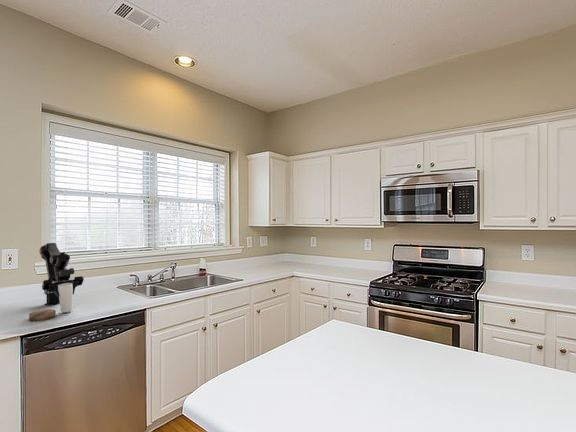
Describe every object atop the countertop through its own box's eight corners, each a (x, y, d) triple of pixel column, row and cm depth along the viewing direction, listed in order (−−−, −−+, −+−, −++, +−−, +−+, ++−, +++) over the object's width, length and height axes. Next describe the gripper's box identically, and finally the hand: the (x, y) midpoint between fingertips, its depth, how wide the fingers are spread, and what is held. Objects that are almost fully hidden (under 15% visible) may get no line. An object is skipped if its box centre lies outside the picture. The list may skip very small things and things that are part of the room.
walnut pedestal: (23, 321, 163) (23, 315, 163) (37, 315, 173) (37, 309, 174) (47, 321, 164) (47, 315, 164) (60, 314, 175) (60, 309, 175)
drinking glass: (65, 309, 183) (63, 282, 182) (77, 309, 183) (75, 282, 182) (56, 313, 176) (54, 286, 176) (68, 313, 176) (66, 285, 175)
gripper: (43, 265, 175) (47, 289, 167) (83, 262, 188) (88, 284, 181) (40, 277, 180) (44, 301, 173) (78, 273, 194) (84, 295, 186)
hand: (66, 295), depth 178 cm, fingers closed on drinking glass, 6 cm apart
